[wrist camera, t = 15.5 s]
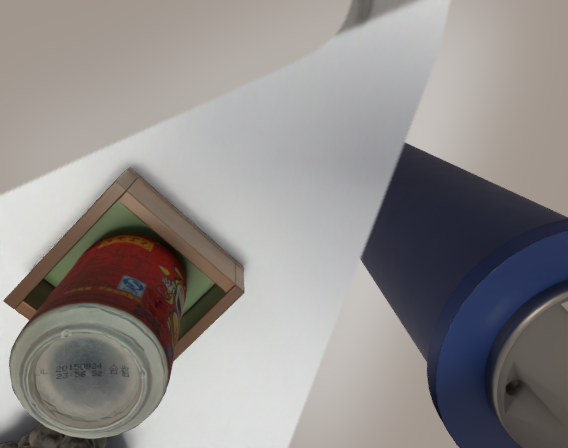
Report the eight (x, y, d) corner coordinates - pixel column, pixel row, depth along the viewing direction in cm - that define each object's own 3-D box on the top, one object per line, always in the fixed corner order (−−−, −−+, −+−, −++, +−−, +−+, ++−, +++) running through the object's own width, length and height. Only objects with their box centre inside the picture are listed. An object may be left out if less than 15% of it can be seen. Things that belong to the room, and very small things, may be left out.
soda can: (196, 317, 35) (176, 441, 24) (91, 327, 35) (18, 459, 23) (183, 219, 33) (154, 302, 22) (71, 229, 33) (-20, 319, 21)
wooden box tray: (243, 267, 36) (245, 292, 32) (146, 362, 37) (135, 397, 33) (129, 167, 33) (115, 180, 29) (28, 274, 34) (2, 301, 30)
